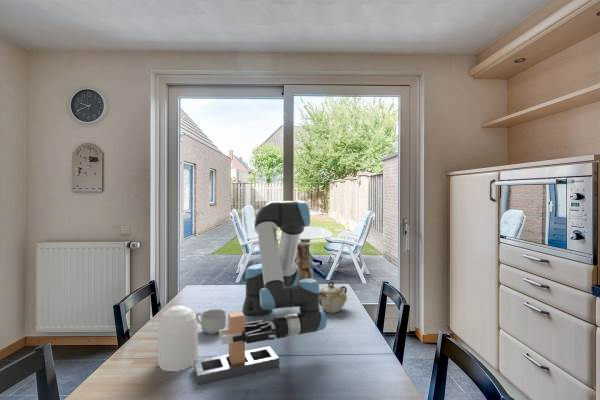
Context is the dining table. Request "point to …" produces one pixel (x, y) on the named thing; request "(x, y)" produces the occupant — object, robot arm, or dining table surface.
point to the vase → (303, 261)
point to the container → (177, 339)
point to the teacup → (212, 320)
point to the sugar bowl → (332, 298)
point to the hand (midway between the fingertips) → (220, 337)
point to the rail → (238, 369)
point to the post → (234, 326)
